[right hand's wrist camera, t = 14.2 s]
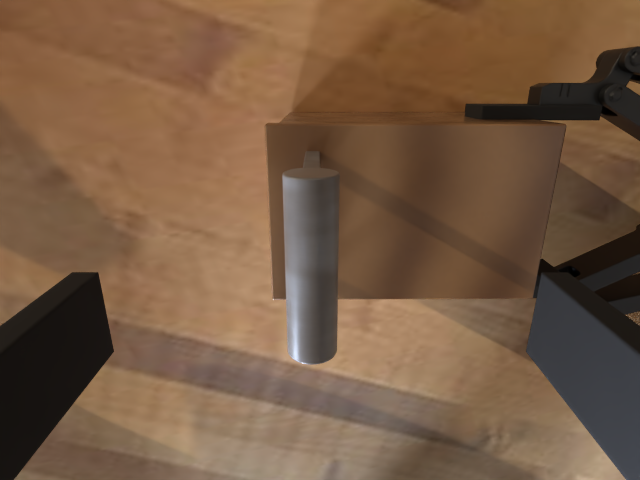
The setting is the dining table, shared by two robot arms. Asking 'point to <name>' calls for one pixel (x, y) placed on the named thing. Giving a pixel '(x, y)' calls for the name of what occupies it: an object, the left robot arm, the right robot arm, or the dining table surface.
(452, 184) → the lid
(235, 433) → the dining table surface
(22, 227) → the dining table surface
